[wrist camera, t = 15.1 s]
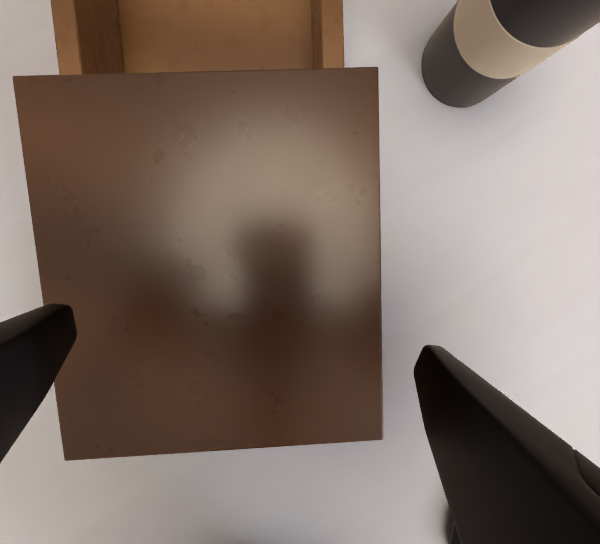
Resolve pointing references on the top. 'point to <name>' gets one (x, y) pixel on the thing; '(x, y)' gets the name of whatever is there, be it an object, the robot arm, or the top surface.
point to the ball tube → (498, 43)
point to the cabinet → (210, 255)
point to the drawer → (196, 35)
